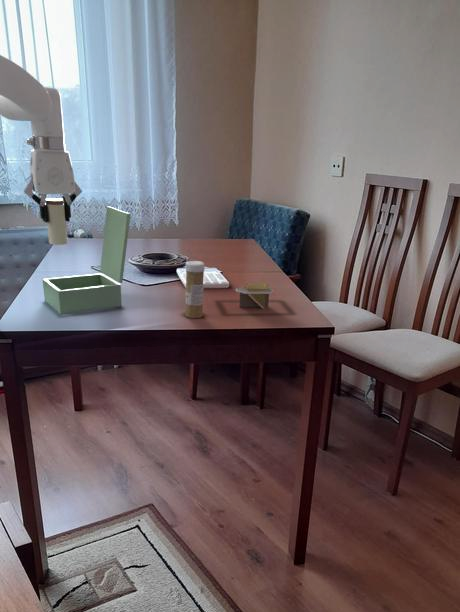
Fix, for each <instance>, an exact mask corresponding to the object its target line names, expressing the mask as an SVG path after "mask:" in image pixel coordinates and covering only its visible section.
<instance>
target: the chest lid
mask: <svg viewBox="0 0 460 612" xmlns="http://www.w3.org/2000/svg"><path fill="white" fill-rule="evenodd" d="M104 221H105V222H104V231H103V241H102V250H101V260H100V269H99V272H101V273H102V274H103V275H105V276H107V277H108V278H110V279H112V280H113V281H115V282H117V283H118V284H122V283H123V280H124V272H125V265H126V264H125V262H126V255H127V247H128V238H129V230H130V222H131V213H130V212H126V211H123V210H120V209H118V208H115V207H112V206H108V205H107V206H106V213H105V220H104Z"/></svg>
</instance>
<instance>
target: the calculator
mask: <svg viewBox="0 0 460 612" xmlns="http://www.w3.org/2000/svg"><path fill="white" fill-rule="evenodd" d="M176 274H177V276H178V278H179V279H180V281H181V282H182V284H183V286H184V288H186V267H178V268H176ZM203 283H204V286H203V289H228V288H229V287H230V282H229V280H228V279H226V277H225V276H224V275H223V274H222V273H221V271H220V270H219V269H217V268H216V267H204V276H203Z"/></svg>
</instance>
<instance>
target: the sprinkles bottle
mask: <svg viewBox="0 0 460 612" xmlns="http://www.w3.org/2000/svg"><path fill="white" fill-rule="evenodd" d="M185 268H186V287H185V313H184V315H185V317H187V318H189V319H200V318H202V317H204V314H203V304H204V288H203V286H204V283H203V276H204V268H205V262H203V261H200V260H189V261H186V262H185Z"/></svg>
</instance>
